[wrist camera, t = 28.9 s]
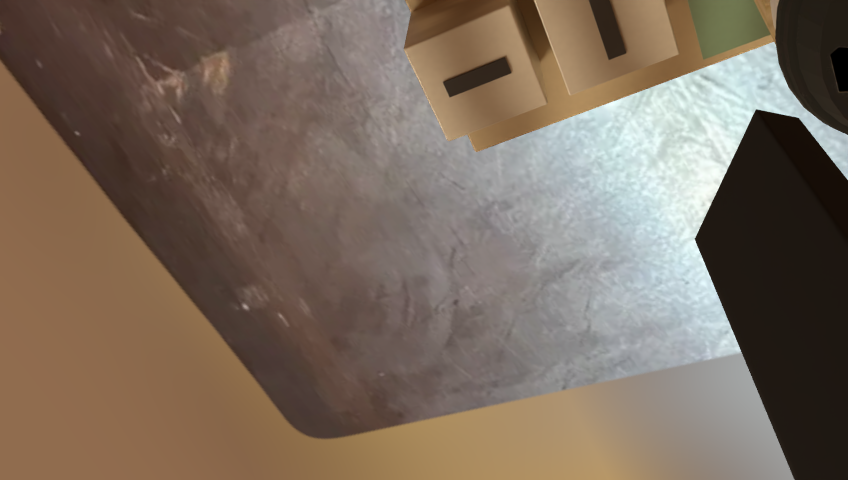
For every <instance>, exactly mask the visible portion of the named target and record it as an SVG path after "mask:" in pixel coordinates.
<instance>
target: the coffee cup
mask: <svg viewBox="0 0 848 480" xmlns="http://www.w3.org/2000/svg"><path fill="white" fill-rule="evenodd" d="M754 2H755V4H756V6H757V8H758V10H759V12H760V14H761V16H762V18H763V20H764V22H765V24H766V26H767V28H768V30H769V32H770V34H771V36H772V38H773V40H774V42H775V44H776V48H777V54H778V61H779V65H780V68H781V70H782V72H783V75H784V77H785V80H786V82H787V84H788V87H789V89H790V90H791V91H792V92H793V94H794V95H795V96H796V98H797V99H798V100H799V102H800V103H801V104H802V106H803V107H804V108H805V109H807V110H808V111H809V112H810V113H812V114H813V115H814V116H815V117H817V118H818V119H819V120H821V121H822V122H823V123H825V124H827V125H829V126H830V127H832V128H834V129H836V130H838V131H841V132H843V133H845V134H847V135H848V0H754Z"/></svg>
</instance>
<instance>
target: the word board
mask: <svg viewBox="0 0 848 480" xmlns="http://www.w3.org/2000/svg"><path fill="white" fill-rule="evenodd" d="M405 1H406V3H407V5H408V7H409V9H410V12H411V16H410V21H409V26H408V31H407V36H406V41H405V46H404V51H405V53H406V55H407V57H408V59H409V62H410V64H411V66H412V68H413V70H414V72H415V74H416V76H417V78H418V80H419V82H420V84H421V87H422V89H423V91H424V93H425V95H426V97H427V99H428V101H429V103H430V105H431V107H432V109H433V111H434V114H435V116H436V118H437V120H438V122H439V124H440V126H441V128H442V130H443V132H444V134H445V136H446V139H447V140H448V141H451V140H454V139H456V138H459V137H462V136H464V135H468V137H469V139H470V141H471V143H472V145H473V148H474V150H475V151H476V152H478V151H480V150H483V149H486V148H489V147H491V146H494V145H497V144H499V143H502V142H505V141H507V140H510V139H513V138H515V137H518V136H521V135H524V134H526V133H529V132H532V131H534V130H537V129H540V128H542V127H545V126H548V125H551V124H553V123H556V122H559V121H561V120H564V119H567V118H569V117H572V116H575V115H577V114H580V113H583V112H586V111H588V110H591V109H594V108H596V107H599V106H602V105H604V104H607V103H610V102H612V101H615V100H618V99H621V98H623V97H626V96H629V95H631V94H634V93H637V92H639V91H642V90H645V89H648V88H650V87H653V86H656V85H658V84H661V83H664V82H666V81H669V80H672V79H674V78H677V77H680V76H683V75H685V74H688V73H691V72H693V71H696V70H699V69H701V68H704V67H707V66H710V65H712V64H715V63H718V62H720V61H723V60H726V59H728V58H731V57H734V56H736V55H739V54H742V53H745V52H747V51H750V50H753V49H755V48H758V47H761V46H763V45H766V44H769V43H772V42H774V40H773V38H772V36H771V34H770V32H769V30H768V28H767V26H766V24H765V22H764V20H763V18H762V16H761V14H760V12H759V10H758V8H757V6H756V4H755V2H754V0H405Z"/></svg>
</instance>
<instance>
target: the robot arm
mask: <svg viewBox="0 0 848 480" xmlns="http://www.w3.org/2000/svg"><path fill="white" fill-rule="evenodd" d="M695 241H696V243H697V246H698V248H699V251H700V253H701V255H702V258H703V260H704V263H705V265H706V267H707V270H708V272H709V275H710V277H711V279H712V282H713V284H714V287H715V289H716V292H717V294H718V296H719V299H720V301H721V304H722V306H723V308H724V311H725V313H726V316H727V318H728V320H729V323H730V325H731V328H732V330H733V332H734V335H735V337H736V340H737V342H738V345H739V347H740V349H741V352H742V354H743V357H744V359H745V361H746V364H747V366H748V369H749V371H750V373H751V376H752V378H753V381H754V383H755V385H756V388H757V390H758V393H759V395H760V397H761V400H762V402H763V405H764V407H765V410H766V412H767V414H768V417H769V419H770V421H771V424H772V426H773V429H774V431H775V433H776V436H777V438H778V441H779V443H780V445H781V448H782V450H783V453H784V455H785V458H786V460H787V463H788V465H789V467H790V470H791V472H792V475H793V477H794V479H795V480H848V180H847V179H846V178H845V176H844V175H843V174H842V172H841V171H840V170H839V169H838V167H837V166H836V165H835V164H834V162H833V161H832V160H831V158H830V157H829V156H828V155H827V153H826V152H825V151H824V150H823V148H822V147H821V146H820V145H819V143H818V142H817V141H816V139H815V138H814V137H813V136H812V134H811V133H810V132H809V131H808V129H807V128H806V127H805V125H804V124H803V123H802V122H801V120H800V119H799V118H796V117H791V116H786V115H781V114H776V113H771V112H766V111H761V110H756V111H755V113H754V115H753V117H752V119H751V121H750V123H749V125H748V128H747V130H746V132H745V134H744V136H743V138H742V140H741V142H740V144H739V147H738V149H737V151H736V153H735V155H734V157H733V159H732V161H731V164H730V166H729V168H728V170H727V172H726V174H725V176H724V178H723V180H722V183H721V185H720V187H719V189H718V191H717V193H716V195H715V197H714V200H713V202H712V204H711V206H710V208H709V210H708V212H707V214H706V216H705V219H704V221H703V223H702V225H701V227H700V229H699V231H698V233H697V236H696V238H695Z"/></svg>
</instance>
